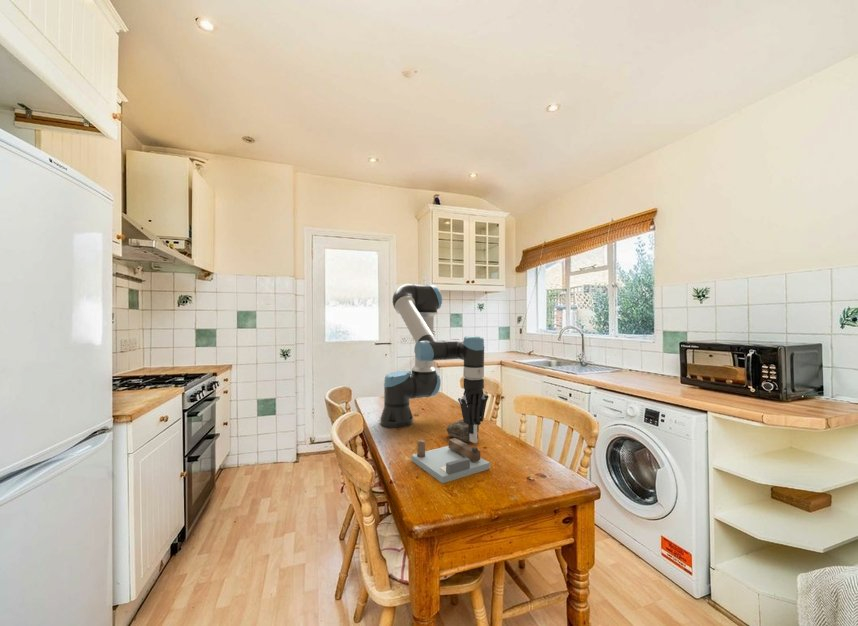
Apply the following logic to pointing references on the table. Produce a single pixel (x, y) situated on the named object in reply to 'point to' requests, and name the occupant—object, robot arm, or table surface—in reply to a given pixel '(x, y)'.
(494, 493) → the table surface
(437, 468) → the board
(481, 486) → the table surface
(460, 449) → the leg
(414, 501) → the table surface
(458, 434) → the stone
